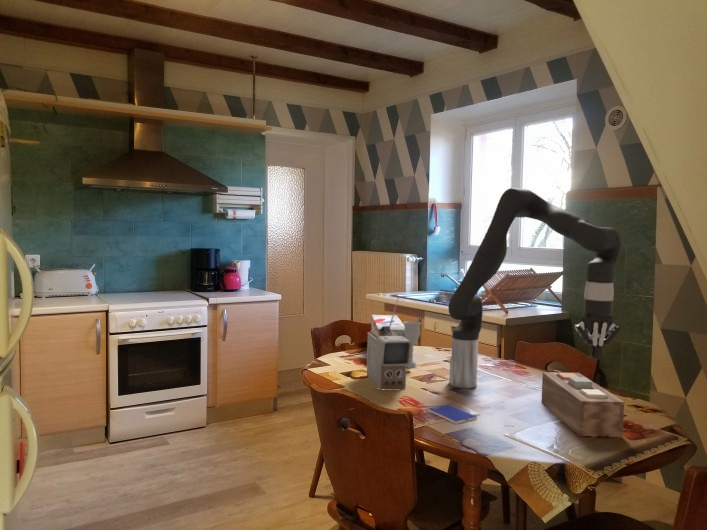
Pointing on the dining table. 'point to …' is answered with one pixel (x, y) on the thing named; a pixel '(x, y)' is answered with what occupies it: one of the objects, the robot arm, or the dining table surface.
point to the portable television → (387, 358)
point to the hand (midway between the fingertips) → (595, 358)
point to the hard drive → (452, 414)
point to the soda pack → (387, 323)
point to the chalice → (412, 337)
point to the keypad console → (583, 407)
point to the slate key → (580, 383)
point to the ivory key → (593, 393)
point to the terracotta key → (566, 375)
